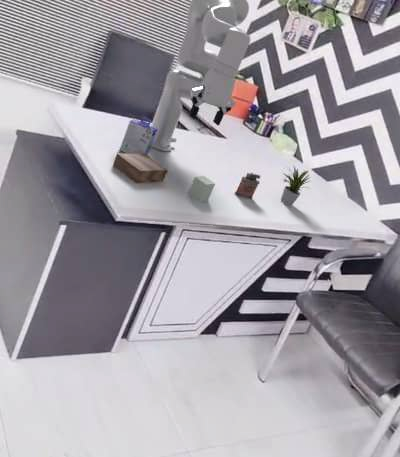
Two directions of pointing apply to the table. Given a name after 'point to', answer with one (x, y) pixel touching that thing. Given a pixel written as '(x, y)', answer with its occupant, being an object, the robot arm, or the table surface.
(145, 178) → the walnut block
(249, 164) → the table surface
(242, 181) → the lighter
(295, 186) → the house plant
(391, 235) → the table surface
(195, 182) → the sage box
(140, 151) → the ink cartridge box
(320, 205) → the table surface
